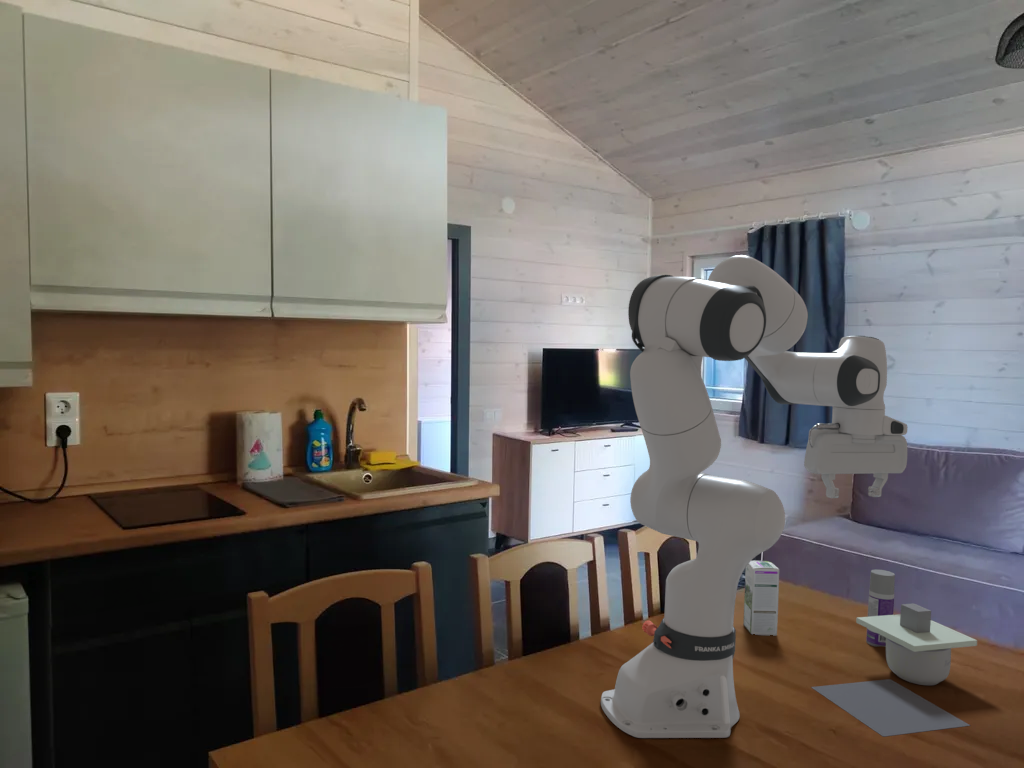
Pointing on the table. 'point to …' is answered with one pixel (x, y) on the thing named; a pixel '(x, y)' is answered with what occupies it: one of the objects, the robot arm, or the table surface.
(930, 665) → the teacup
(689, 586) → the robot arm
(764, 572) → the syrup box
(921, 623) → the lid
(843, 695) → the mat
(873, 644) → the container
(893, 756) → the table surface
